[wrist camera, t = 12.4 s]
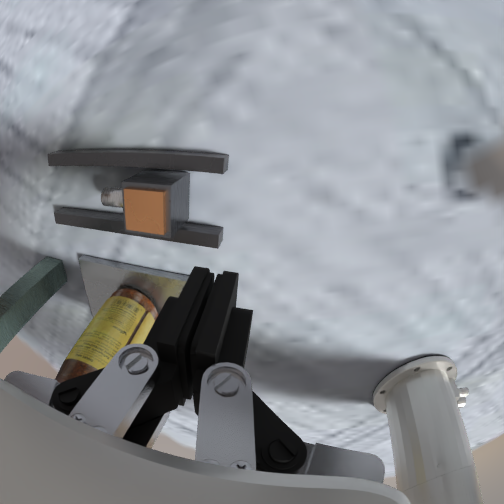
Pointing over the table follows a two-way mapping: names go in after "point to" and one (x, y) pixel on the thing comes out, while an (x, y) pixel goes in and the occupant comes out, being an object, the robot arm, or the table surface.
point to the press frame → (100, 270)
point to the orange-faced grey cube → (152, 202)
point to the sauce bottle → (110, 333)
